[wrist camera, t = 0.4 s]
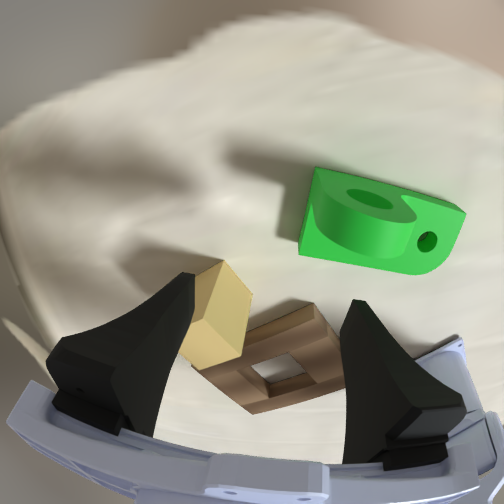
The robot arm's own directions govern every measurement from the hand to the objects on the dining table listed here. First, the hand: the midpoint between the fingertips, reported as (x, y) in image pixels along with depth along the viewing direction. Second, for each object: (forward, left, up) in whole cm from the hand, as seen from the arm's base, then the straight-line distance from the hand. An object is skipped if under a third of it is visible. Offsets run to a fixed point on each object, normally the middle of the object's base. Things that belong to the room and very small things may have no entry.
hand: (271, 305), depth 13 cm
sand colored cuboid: (-3, +8, -10) cm, 13 cm away
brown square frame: (-14, +9, -10) cm, 19 cm away
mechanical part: (-4, -6, -10) cm, 13 cm away
